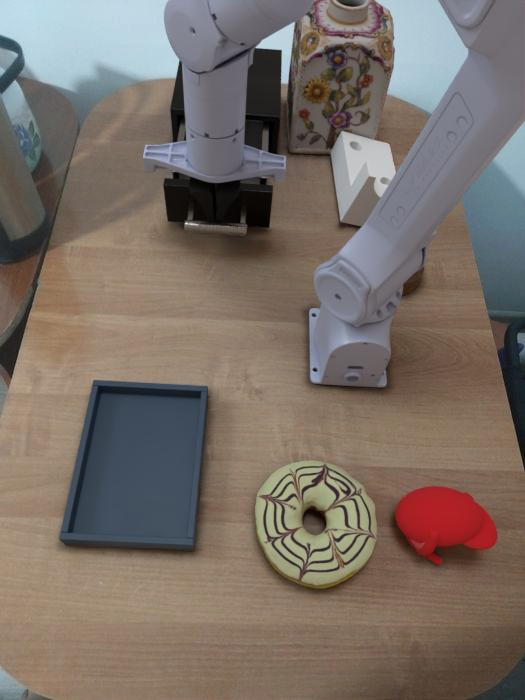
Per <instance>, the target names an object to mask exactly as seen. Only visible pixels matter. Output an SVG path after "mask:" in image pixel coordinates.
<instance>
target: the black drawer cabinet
mask: <svg viewBox="0 0 525 700" xmlns="http://www.w3.org/2000/svg"><path fill="white" fill-rule="evenodd" d="M282 58H283V49H275V48H260V47H256V48H255V49H254V52H253V64H251V65H250V66H249V67H248V74H247V94H246V114H245V120H257V121H269V144H268V153H272V154H276V155H278V146H279V137H280V136H279V135H280V124H281V108H282V107H281V105H282V67H283V65H282V64H283V63H282V62H283V61H282V60H283V59H282ZM169 112H170V113H169V114H170V124H171V135H172V143H175V142H177V140H178V134H179V128H180V122H181V116H182V115H185V107H184V90H183V72H182V62H181V61H180V60H179V59H178V65H177V70H176V76H175V82H174V87H173V91H172V97H171V102H170V107H169Z"/></svg>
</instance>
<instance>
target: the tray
mask: <svg viewBox="0 0 525 700" xmlns="http://www.w3.org/2000/svg"><path fill="white" fill-rule="evenodd" d="M208 404H209V386H208V385H192V384H176V383H175V384H174V383H158V382H138V381H119V380H102V379H93V380H92V385H91V390H90V394H89V398H88V403H87V407H86V413H85V417H84V420H83V421H84V422H83V426H82V431H81V436H80V440H79V445H78V450H77V453H76V459H75V463H74V468H73V473H72V478H71V481H70V487H69V490H68V496H67V501H66V505H65V510H64V514H63V519H62V522H61V523H62V524H61V528H60V533H59V537H58V540H59V541H60V542H61V543H62V544H63V545H64V546H79V547H80V546H81V547H101V548H102V547H105V548H125V549H147V550H165V551H166V550H167V551H168V550H169V551H191V552H192V551H195V545H196V534H197V524H198V523H197V522H198V514H199V513H198V512H199V503H200V493H201V492H200V490H201V479H202V468H203V460H204V459H203V458H204V445H205V438H206V437H205V435H206V427H207V426H206V425H207V415H208V414H207V413H208Z"/></svg>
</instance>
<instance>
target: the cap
mask: <svg viewBox="0 0 525 700" xmlns="http://www.w3.org/2000/svg"><path fill="white" fill-rule="evenodd" d="M394 518H395V522H396V525H397V527H398V529H399V530H400V531H401V532H402V533H403V534H404V535H405V538H406V540H407V541H408V544H410V546H412V548H414V549H415V551H416V554H418V555H419V556H424V557H425V558H426V559H427V560H429V561H431V562H432V563H434V564H435V565H437V566H441V565H442V564H443V559H442V558H441V557H440V556H438V555H437V554H436V553H434V551H435V549H436V548H437V547H438V548H447V547H454V546H459V545H461V544H462V545H464V546H466V547H468V548H471V549H474V550H477V551H478V550H479V551H485V550H489V549H491V548H493V547H494V546H495V545H496V544H497V541H498V536H499V535H498V529H497V525H496V524H495V522H494V520H493V518H492V517H491V515H490V514H489V513H488V511H486V509H484V507H482V505H480V504H479V503H478V502H476V501H475V499H474V497H473V496H472V495H471V494H470V493H469V492H467V491H466V492H465V491H464V492H462V491H460V490H458V489H455V488H452V487H448V486H439V485H432V486H431V485H430V486H423V487H420V488H416V489H414V490H411V491H410V492H408V493H406V494H405V495H403V496H401V498H400V501H399V502H398V503H397V505H396V507H395V512H394Z"/></svg>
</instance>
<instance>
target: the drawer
mask: <svg viewBox="0 0 525 700" xmlns="http://www.w3.org/2000/svg"><path fill="white" fill-rule="evenodd" d="M181 141H186V125H185V115H182V116H181V122H180V128H179V134H178V140H177V142H181ZM268 144H269V121H257V120H245V135H244V145H247V146H250V147H253V148H256V149H259V150H262V151H265V152H268ZM171 173H172V177H164V179H163V182H162V183H163V184H162V186H163V195H164V203H165V210H166V211H165V212H166V220H167V223H180V224H181V223H183V224H184V229H183V230H184V233H192V234H208V235H222V236H238V237H247V235H248V234H247V233H248V227H249V228H260V229H261V228H262V229H270V228H271V227H270V225H271V215H272V206H273V195H274V185H273V184H268V177H258V176H257V177H252V178H246V179H241V181H240V191H239V194H238V196H237V198H236V199H235V200H234V201H233V202H232V203H231V204H230V206H229V207H228V209H227V211H226V213H225V215H224V217H223V220H222V222H216V221H208V219H207V216H206V214H205V211H204V209H203V208H202V206H201V204H200V203H199V202H198V200H197V199H196V198H195V197H194V196H193V195H192V194H191V192H190V189H189V181H190V176H188V175H185V174H182V173H179V172H176V171H173V170H171ZM216 184H217V183H215V192H216Z"/></svg>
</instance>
